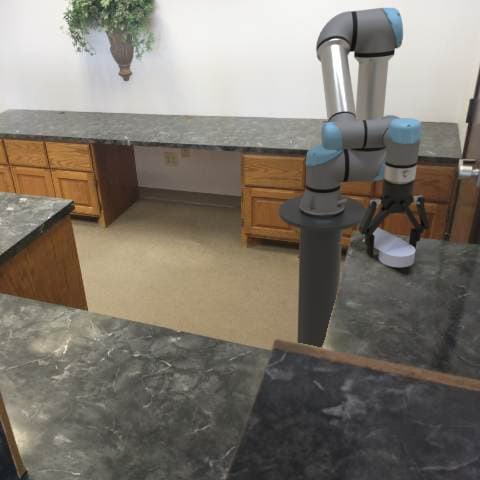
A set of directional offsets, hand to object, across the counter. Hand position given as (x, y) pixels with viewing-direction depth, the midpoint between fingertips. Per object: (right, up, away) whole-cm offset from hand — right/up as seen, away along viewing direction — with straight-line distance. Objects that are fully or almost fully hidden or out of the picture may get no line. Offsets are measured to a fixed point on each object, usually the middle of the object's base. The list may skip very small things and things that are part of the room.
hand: (390, 253), depth 143 cm
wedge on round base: (0, -1, +1) cm, 1 cm away
